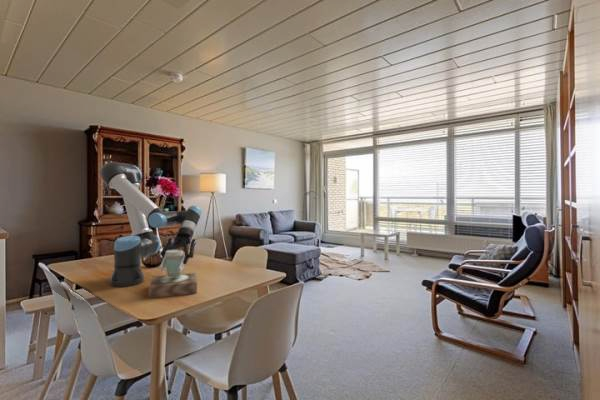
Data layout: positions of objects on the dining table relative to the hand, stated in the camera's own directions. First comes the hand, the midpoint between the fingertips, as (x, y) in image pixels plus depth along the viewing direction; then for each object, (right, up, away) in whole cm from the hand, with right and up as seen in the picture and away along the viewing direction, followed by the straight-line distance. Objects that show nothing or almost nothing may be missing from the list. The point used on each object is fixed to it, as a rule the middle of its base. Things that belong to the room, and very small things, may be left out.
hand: (170, 269), depth 139 cm
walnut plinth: (0, -11, +3) cm, 11 cm away
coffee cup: (0, -4, +3) cm, 5 cm away
